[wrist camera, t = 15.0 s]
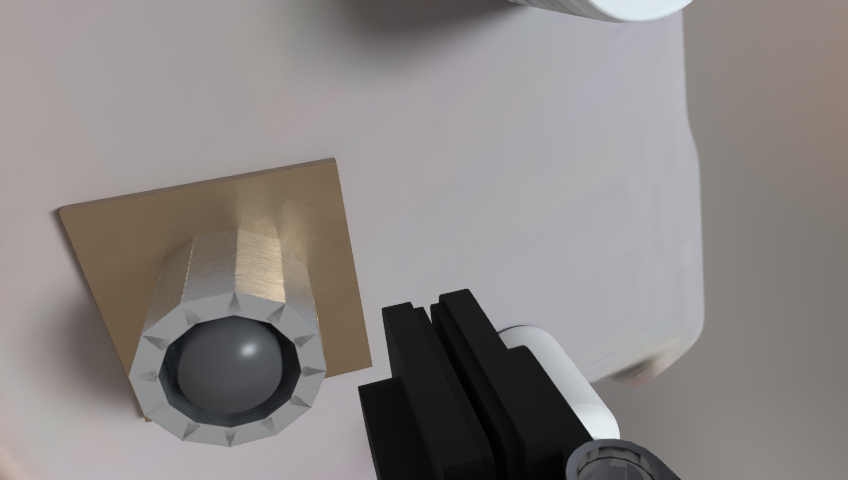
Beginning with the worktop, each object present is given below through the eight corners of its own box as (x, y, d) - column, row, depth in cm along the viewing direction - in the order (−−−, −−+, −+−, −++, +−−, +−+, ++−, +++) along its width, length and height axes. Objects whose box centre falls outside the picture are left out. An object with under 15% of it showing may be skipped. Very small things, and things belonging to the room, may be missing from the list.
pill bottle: (457, 377, 54) (523, 513, 41) (510, 309, 52) (597, 427, 39) (519, 406, 57) (598, 539, 44) (571, 343, 56) (670, 462, 42)
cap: (174, 301, 38) (164, 345, 34) (267, 280, 40) (269, 321, 35) (200, 374, 41) (194, 423, 37) (287, 353, 42) (291, 398, 38)
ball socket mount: (62, 206, 39) (8, 278, 30) (334, 157, 42) (355, 209, 34) (148, 413, 47) (124, 517, 38) (370, 359, 50) (395, 443, 42)
